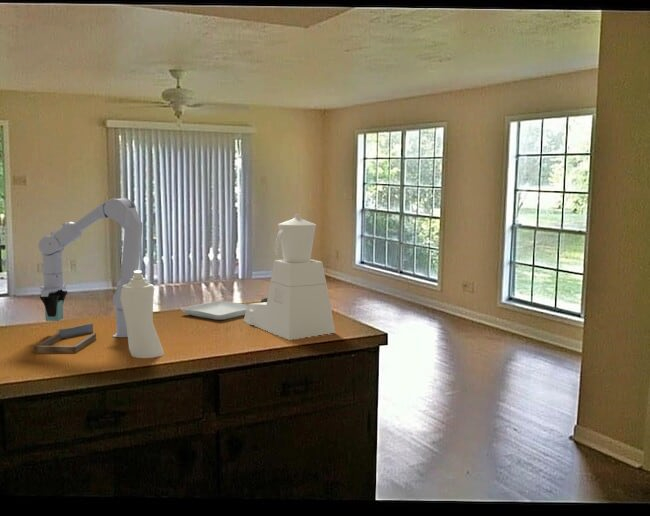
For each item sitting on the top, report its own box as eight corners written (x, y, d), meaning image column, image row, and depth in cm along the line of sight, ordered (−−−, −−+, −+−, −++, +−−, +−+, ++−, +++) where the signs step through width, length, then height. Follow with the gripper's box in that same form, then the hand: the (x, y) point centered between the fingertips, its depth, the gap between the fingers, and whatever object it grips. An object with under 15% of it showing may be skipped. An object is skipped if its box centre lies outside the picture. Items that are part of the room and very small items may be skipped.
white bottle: (124, 365, 173) (122, 274, 169) (120, 355, 182) (118, 269, 179) (167, 360, 177) (166, 272, 174) (161, 351, 187) (159, 267, 184)
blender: (241, 323, 224) (240, 210, 219) (286, 318, 234) (287, 210, 229) (286, 344, 197) (287, 216, 192) (335, 337, 207) (337, 215, 202)
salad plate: (219, 307, 252) (219, 299, 252) (259, 314, 240) (259, 306, 240) (179, 316, 235) (178, 307, 235) (219, 324, 223) (219, 315, 223)
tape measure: (280, 308, 247) (279, 299, 246) (263, 311, 245) (262, 302, 244) (276, 305, 253) (275, 296, 252) (259, 307, 251) (258, 298, 250)
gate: (91, 332, 208) (90, 323, 207) (93, 332, 207) (92, 323, 207) (56, 339, 198) (56, 330, 197) (58, 340, 197) (57, 330, 197)
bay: (96, 341, 197) (95, 333, 197) (76, 355, 181) (76, 346, 181) (57, 340, 197) (57, 332, 197) (34, 354, 181) (34, 346, 181)
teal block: (63, 318, 206) (62, 300, 205) (58, 320, 202) (57, 302, 201) (51, 318, 206) (50, 300, 205) (45, 320, 202) (44, 302, 201)
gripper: (50, 269, 209) (51, 310, 211) (30, 276, 195) (32, 319, 197) (71, 270, 209) (73, 310, 211) (52, 276, 195) (54, 319, 197)
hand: (54, 314), depth 204 cm, fingers closed on teal block, 4 cm apart
